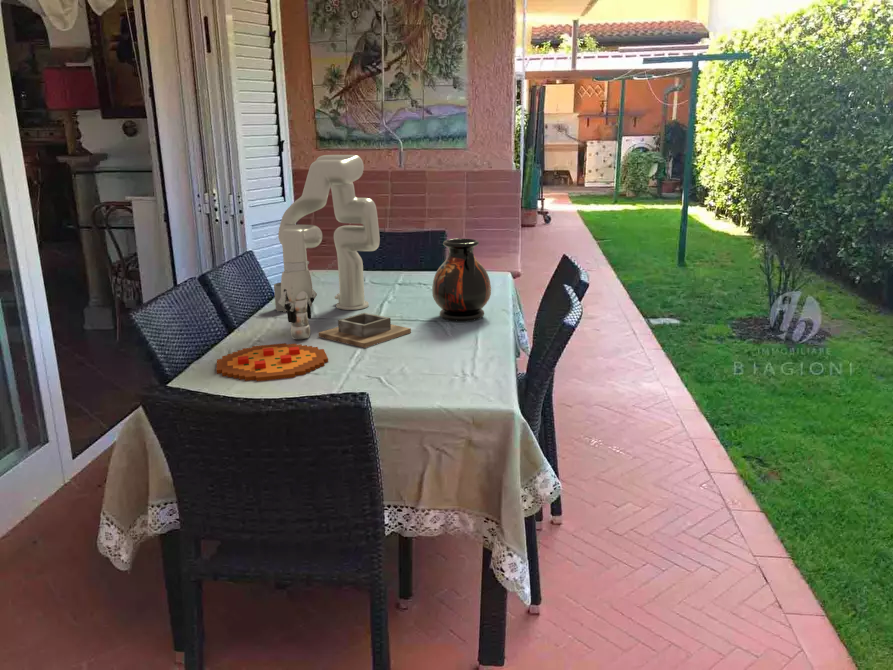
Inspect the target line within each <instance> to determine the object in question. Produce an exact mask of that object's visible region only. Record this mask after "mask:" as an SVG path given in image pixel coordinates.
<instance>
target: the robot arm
mask: <svg viewBox="0 0 893 670" xmlns="http://www.w3.org/2000/svg"><path fill="white" fill-rule="evenodd" d="M364 168H365V167H364V161H363V159H362V158H361V157H360V155H356V154H324V155H320V156H318V157H317V158H316V160H315V161H313V162H312V163H311V164H310V166H309V169H308V172H307V176H306V180H305V183H304V186H303V187H304V188H303V191H302V194H301V196H300V197H299V198H297V199H295V200H294V202H293V203H291V204H290V205H289V207H287V209H285V211H284V212H283V214H282V217H281V220H280V224H279V227H278V236H277V237H278V241H279V243H280V244H281V249H282V258H283V259H282V260H283V271H282V272H281V279H280V283H281V298H280V300H279V302H278V303H279V304H280V305H281V306H282V307H283V308H285V310H286V311H287V312H286V314H287V315H286V316H287V321H288V323H290V324H291V323H296V317H295V311H293V309H294V303H295V302H296V297H297V295H298V294H299V293H300V292H302V291H304V292H306V293H307V295H308V298H307V299H308V301H307V316H308V320H311V319H312V310H311V308H312V307H313V302H314V301H315V299H316V298H317V296H318V292H316V291H315V290H314V288H313V281H312V276H311V272H310V270H309V267H308V265H310V261H309V260H308V255H307V253H308V252H307V249H313V248H314V249H315V248H316V247H318V246H319V245H320V244H321V243H322V240H323V232H322V229H320V227H319V226H317V225H314V224H297V222H298V221H300V220H301V219H302V218H303V217H305V216H307V215H310V214H312V213H314V212H316V211H319V210H321V209H324V208H325V206H326V205H327V202H328V197H329V194H330V190H331V197H332V198H331V199H332V205H333V212H334V217H335V219H336V221H338V223H342V224H361V225H342V226H338V227H337V228H336V229H335V230H334V231H333V243H334V245H335V249H336V250H335V251H336V256H337V258H336V259H337V268H338V269H337V271H338V288H339V289H338V290H339V293H337V294H336V295H335V296H334V299H335V300H338V302H337V303H336V306H335V307H336V309H339V310H346V311H352V310H353V311H354V310H357V311H358V310H363V309H366V308H368V307H369V306H370V305H369V304H370V303H369V301H367V300H365V283H364V282H365V281H364V265H363V263H364V261H363V259H362V257H361V255H360V254H359V252H374V251H377V249H379V246H380V240H381V238H380V227H379V219H378V217H379V216H378V210H377V205H376V203H375V201H374V200H373V199H372V198H370V197H369V198H368V197H357V196H356V191H355V185H354V183H353V182H355V181H357V180H359V179H360V178H361V177H362V176H363V174H364ZM285 301H287V302H286V303H285ZM290 303H291V305H290Z"/></svg>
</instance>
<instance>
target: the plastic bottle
mask: <svg viewBox="0 0 893 670" xmlns="http://www.w3.org/2000/svg"><path fill="white" fill-rule="evenodd" d="M307 298H308V295H307V293H306V292H304V291H302V292H300V293H299V294H298V295H297V297H296V302H295V303H294V309H293V311H295V317H296V323H291V322H290V324H291V326H290V334H291V335H290V336H291V337H292V339H294V340H305V339H309V337H310V336H311V332H312V331H311V326H310V324H309V323H310V322H309V319H308V316H307V301H308V299H307ZM290 305H291V303H290Z"/></svg>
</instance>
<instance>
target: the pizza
mask: <svg viewBox="0 0 893 670" xmlns="http://www.w3.org/2000/svg"><path fill="white" fill-rule="evenodd" d="M325 363H329V358H328V356H327V353H326V351H325V349H324V348H321V349H319V346H313V345H309V346H308V345H306V344H305V345H302V344H301V343H300V344H297V343H286V342H284V343H272V344H271V343H270V344H262V345H252V347H245V348H244V347H243V348H241V349H237V351H232V352H231V353H227V355H222V356H221V358H219V359H218V358H217V359H216V375H220V374H221V375H222V378H223V377H227V378H228V379H229V378H233V379H234V380H235V379H239V381H241V380H242V381H243V380H244V381H245V382H248V381H256V382H265V381H275V380H282V379H291V378H292V379H293V378H296V376H304V375H306V374H307V373H311V371H316V369H320V368H321V367H325Z"/></svg>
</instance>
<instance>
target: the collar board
mask: <svg viewBox="0 0 893 670" xmlns="http://www.w3.org/2000/svg"><path fill="white" fill-rule="evenodd" d="M337 324H338V325H337V326H336V327H333V328H329V329H326V330H323V331H322V330H321V331H319V332H317V333H318V338H321V339H326V340H330V341H335V342H339V343H343V344H346V345H350V346H351V345H352V346H355V347H359V348H363V349H364V348H365V349H366V348H368V347H369V348H370V347H372V346H375V345H378V344H380V343H384V342H387V341H390V340H392V339H393V340H394V339H395V338H398V337H402V336H405V335H407V334H408V335H409V334H411V333H412V328H410V327H405V326H401V325H395V324H392V323H391V317H387V316H384V315H383V316H382V315H377V314H373V313H367V312H362V313H358V314H355V315H352V316H351V315H350V316H348V317H345V318H341V319H337ZM377 343H378V344H377ZM374 344H375V345H374Z"/></svg>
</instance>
